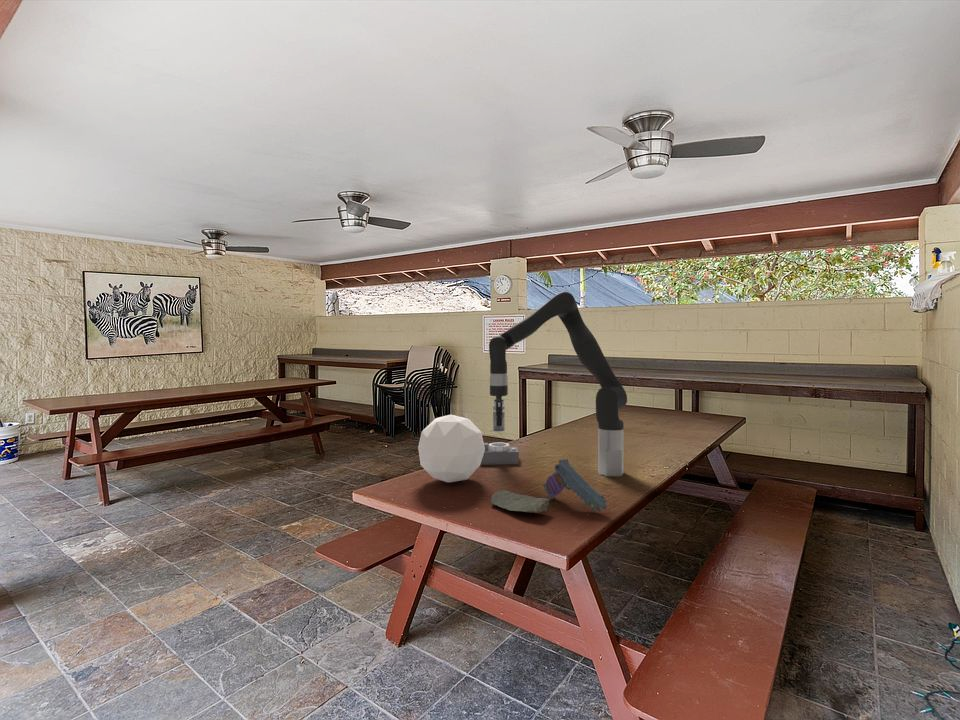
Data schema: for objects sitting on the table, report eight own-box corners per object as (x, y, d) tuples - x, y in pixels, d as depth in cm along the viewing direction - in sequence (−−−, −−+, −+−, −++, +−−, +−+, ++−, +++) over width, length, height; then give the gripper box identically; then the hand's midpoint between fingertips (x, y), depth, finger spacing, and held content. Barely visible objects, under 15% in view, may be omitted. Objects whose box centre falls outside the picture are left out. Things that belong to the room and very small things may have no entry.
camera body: (518, 466, 203) (518, 446, 203) (479, 466, 204) (479, 446, 203) (517, 460, 214) (517, 440, 214) (480, 460, 214) (480, 441, 214)
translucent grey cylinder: (504, 431, 205) (504, 406, 205) (493, 431, 205) (492, 406, 205) (504, 429, 210) (504, 405, 210) (493, 429, 210) (492, 405, 210)
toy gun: (545, 486, 166) (564, 453, 160) (590, 534, 154) (612, 500, 147) (539, 488, 164) (558, 454, 158) (583, 537, 151) (605, 502, 145)
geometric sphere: (453, 469, 199) (452, 407, 198) (498, 482, 181) (498, 414, 180) (404, 482, 182) (403, 414, 181) (449, 497, 165) (448, 422, 164)
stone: (481, 501, 158) (501, 487, 165) (484, 512, 158) (504, 497, 165) (534, 511, 143) (553, 494, 150) (537, 522, 143) (556, 505, 150)
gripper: (508, 385, 200) (508, 427, 201) (507, 382, 214) (507, 421, 215) (489, 385, 200) (490, 427, 201) (489, 382, 214) (489, 421, 215)
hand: (498, 424), depth 208 cm, fingers closed on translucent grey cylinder, 5 cm apart
